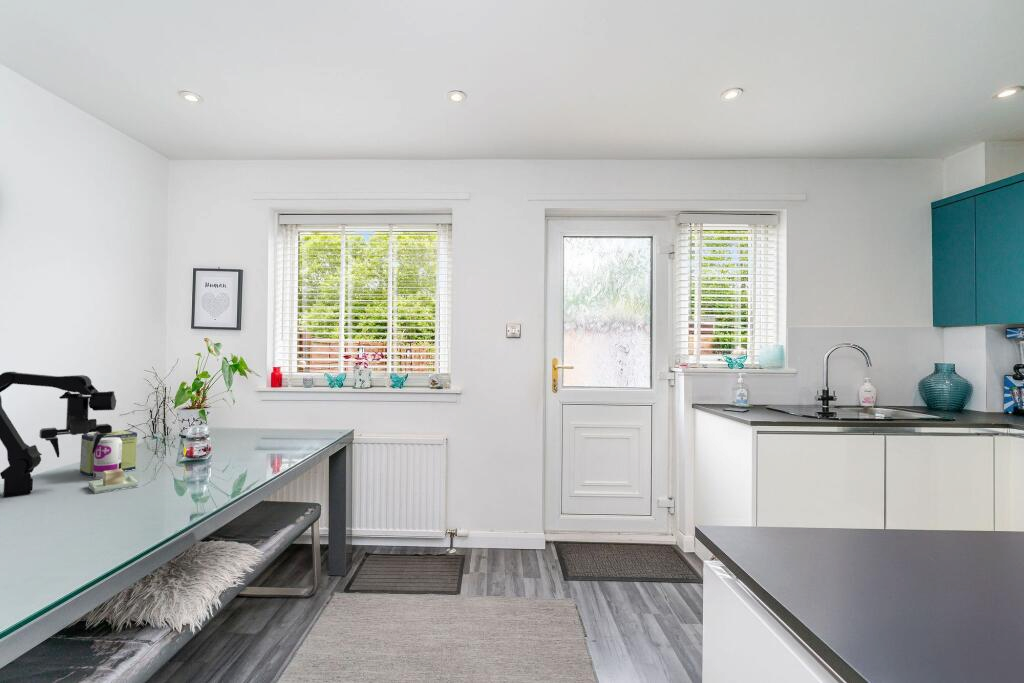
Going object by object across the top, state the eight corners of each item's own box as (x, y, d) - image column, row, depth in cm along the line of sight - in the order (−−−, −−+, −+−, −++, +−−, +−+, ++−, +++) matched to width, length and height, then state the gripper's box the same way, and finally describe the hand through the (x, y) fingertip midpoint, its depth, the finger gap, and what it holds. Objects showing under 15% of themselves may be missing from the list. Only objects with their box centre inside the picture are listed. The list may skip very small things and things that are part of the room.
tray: (94, 493, 169) (94, 488, 169) (88, 486, 177) (88, 481, 177) (137, 487, 178) (137, 481, 178) (130, 481, 186) (130, 475, 186)
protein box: (136, 470, 203) (138, 432, 203) (88, 477, 189) (90, 437, 190) (125, 466, 208) (127, 429, 208) (78, 473, 195) (80, 434, 195)
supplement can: (108, 480, 186) (110, 440, 186) (87, 479, 186) (89, 440, 186) (126, 475, 194) (127, 437, 194) (105, 474, 194) (107, 436, 194)
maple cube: (105, 487, 174) (106, 473, 174) (102, 484, 177) (103, 470, 177) (123, 485, 177) (123, 471, 177) (120, 482, 181) (120, 468, 181)
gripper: (43, 415, 161) (41, 463, 161) (115, 411, 175) (114, 455, 175) (40, 412, 169) (38, 457, 168) (109, 408, 183) (107, 450, 182)
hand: (75, 455), depth 173 cm, fingers open, 9 cm apart
